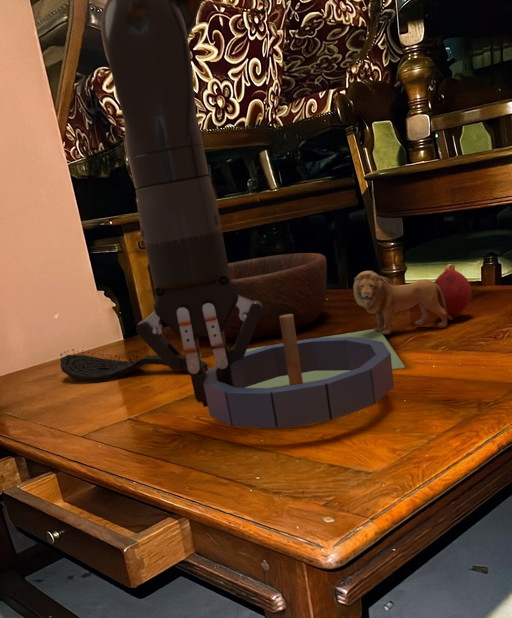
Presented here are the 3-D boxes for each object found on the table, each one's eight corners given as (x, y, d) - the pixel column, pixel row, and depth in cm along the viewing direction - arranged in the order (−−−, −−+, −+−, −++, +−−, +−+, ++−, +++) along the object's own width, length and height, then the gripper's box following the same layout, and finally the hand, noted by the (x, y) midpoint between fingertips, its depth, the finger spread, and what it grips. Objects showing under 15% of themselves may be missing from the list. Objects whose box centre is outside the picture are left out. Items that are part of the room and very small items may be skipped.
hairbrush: (189, 359, 94) (45, 358, 104) (193, 385, 95) (51, 381, 106) (217, 343, 101) (79, 343, 111) (220, 367, 102) (84, 366, 113)
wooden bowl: (162, 341, 122) (149, 283, 118) (267, 307, 136) (259, 254, 132) (252, 352, 104) (241, 283, 100) (363, 312, 118) (357, 250, 114)
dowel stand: (335, 401, 77) (323, 302, 73) (342, 425, 69) (329, 317, 65) (264, 411, 77) (248, 314, 73) (263, 437, 70) (245, 330, 66)
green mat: (379, 332, 103) (378, 328, 103) (405, 371, 82) (405, 367, 82) (233, 354, 105) (232, 351, 104) (224, 399, 84) (223, 394, 84)
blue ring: (376, 357, 80) (373, 328, 79) (406, 408, 63) (403, 371, 61) (217, 383, 82) (211, 354, 80) (203, 440, 64) (196, 404, 63)
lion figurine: (362, 340, 97) (358, 275, 93) (350, 333, 101) (346, 270, 98) (460, 325, 99) (461, 261, 95) (444, 319, 103) (444, 257, 100)
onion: (467, 323, 99) (464, 266, 96) (427, 325, 102) (423, 270, 99) (476, 313, 104) (474, 259, 101) (438, 315, 107) (435, 262, 104)
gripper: (253, 217, 69) (280, 382, 76) (121, 241, 70) (159, 402, 77) (251, 222, 62) (281, 404, 69) (105, 249, 63) (148, 425, 70)
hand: (216, 402), depth 73 cm, fingers closed on blue ring, 1 cm apart
